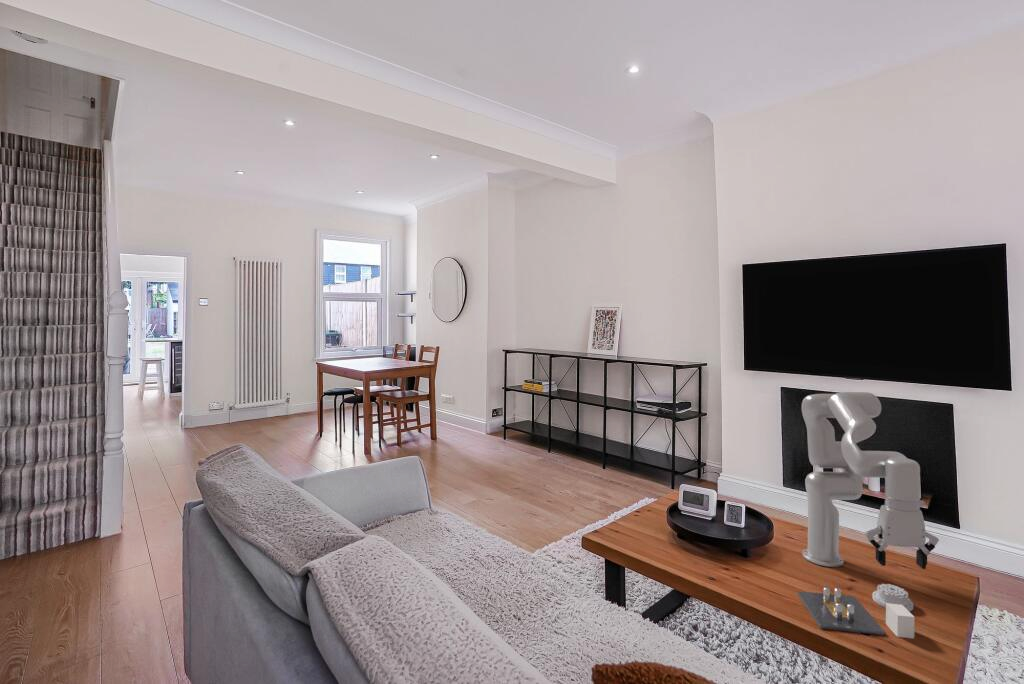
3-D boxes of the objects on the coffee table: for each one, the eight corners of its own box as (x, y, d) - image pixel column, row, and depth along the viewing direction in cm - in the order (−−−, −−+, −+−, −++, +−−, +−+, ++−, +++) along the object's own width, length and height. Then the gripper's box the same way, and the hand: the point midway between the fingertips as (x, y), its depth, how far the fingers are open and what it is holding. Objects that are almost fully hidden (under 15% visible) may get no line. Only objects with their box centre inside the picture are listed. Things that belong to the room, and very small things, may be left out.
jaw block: (885, 623, 142) (886, 603, 142) (901, 625, 141) (902, 604, 141) (897, 636, 136) (897, 615, 136) (914, 638, 135) (914, 617, 135)
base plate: (797, 594, 158) (797, 578, 157) (854, 599, 154) (854, 583, 154) (820, 628, 140) (820, 611, 140) (884, 635, 137) (885, 617, 136)
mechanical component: (913, 601, 153) (873, 591, 159) (913, 587, 153) (873, 577, 159) (913, 617, 145) (871, 605, 152) (913, 602, 145) (871, 590, 151)
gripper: (929, 501, 139) (928, 561, 140) (860, 497, 143) (859, 556, 143) (947, 510, 132) (945, 574, 132) (873, 506, 135) (872, 568, 136)
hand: (900, 565), depth 138 cm, fingers open, 9 cm apart
